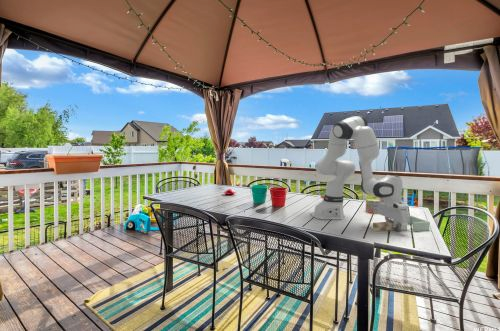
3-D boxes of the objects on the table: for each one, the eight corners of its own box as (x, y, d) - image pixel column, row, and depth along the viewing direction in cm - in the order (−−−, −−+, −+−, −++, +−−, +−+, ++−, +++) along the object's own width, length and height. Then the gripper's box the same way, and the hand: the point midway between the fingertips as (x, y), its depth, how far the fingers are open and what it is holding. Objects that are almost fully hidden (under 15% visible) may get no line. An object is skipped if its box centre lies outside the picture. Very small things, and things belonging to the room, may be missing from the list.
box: (413, 231, 138) (414, 223, 138) (396, 224, 151) (396, 216, 150) (429, 230, 141) (429, 221, 140) (410, 223, 153) (411, 215, 152)
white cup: (389, 226, 147) (390, 210, 146) (401, 225, 148) (402, 209, 147) (398, 230, 140) (399, 213, 139) (411, 230, 140) (412, 213, 139)
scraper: (379, 233, 136) (380, 225, 135) (368, 227, 144) (369, 220, 144) (401, 231, 138) (401, 223, 138) (389, 226, 147) (389, 218, 147)
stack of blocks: (367, 213, 175) (368, 196, 174) (365, 211, 181) (366, 194, 180) (400, 215, 171) (401, 198, 170) (396, 212, 177) (397, 196, 176)
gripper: (375, 198, 150) (373, 220, 152) (401, 207, 131) (400, 232, 132) (383, 198, 152) (382, 220, 153) (411, 206, 132) (410, 231, 133)
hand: (391, 225), depth 142 cm, fingers closed on scraper, 3 cm apart
